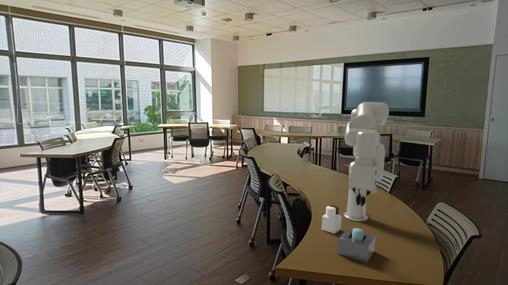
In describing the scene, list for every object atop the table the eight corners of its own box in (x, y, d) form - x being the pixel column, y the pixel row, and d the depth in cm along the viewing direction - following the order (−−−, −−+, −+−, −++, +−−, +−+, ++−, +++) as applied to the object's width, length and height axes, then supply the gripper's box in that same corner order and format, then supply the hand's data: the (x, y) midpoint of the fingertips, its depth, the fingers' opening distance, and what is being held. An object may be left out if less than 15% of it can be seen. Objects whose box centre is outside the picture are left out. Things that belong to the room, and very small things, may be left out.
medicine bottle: (327, 225, 158) (329, 203, 157) (340, 229, 154) (342, 206, 152) (320, 229, 153) (322, 206, 151) (334, 234, 148) (336, 210, 147)
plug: (352, 249, 134) (354, 227, 132) (362, 252, 131) (364, 230, 130) (349, 253, 130) (351, 230, 129) (359, 256, 128) (362, 233, 126)
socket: (346, 243, 139) (347, 228, 138) (374, 251, 132) (375, 236, 131) (337, 253, 129) (338, 237, 128) (367, 263, 123) (368, 246, 122)
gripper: (386, 162, 124) (381, 206, 127) (348, 157, 133) (345, 198, 135) (382, 165, 118) (377, 211, 121) (342, 160, 126) (339, 203, 129)
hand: (360, 204), depth 128 cm, fingers closed
